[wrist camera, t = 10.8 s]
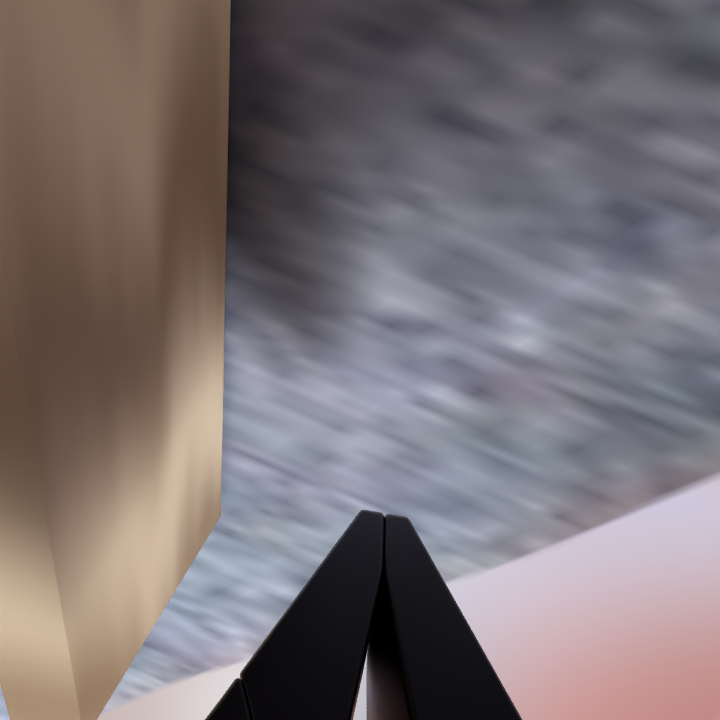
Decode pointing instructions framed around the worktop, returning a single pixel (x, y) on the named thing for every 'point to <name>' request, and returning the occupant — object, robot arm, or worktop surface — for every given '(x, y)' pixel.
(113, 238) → the wooden board
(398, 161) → the worktop surface
